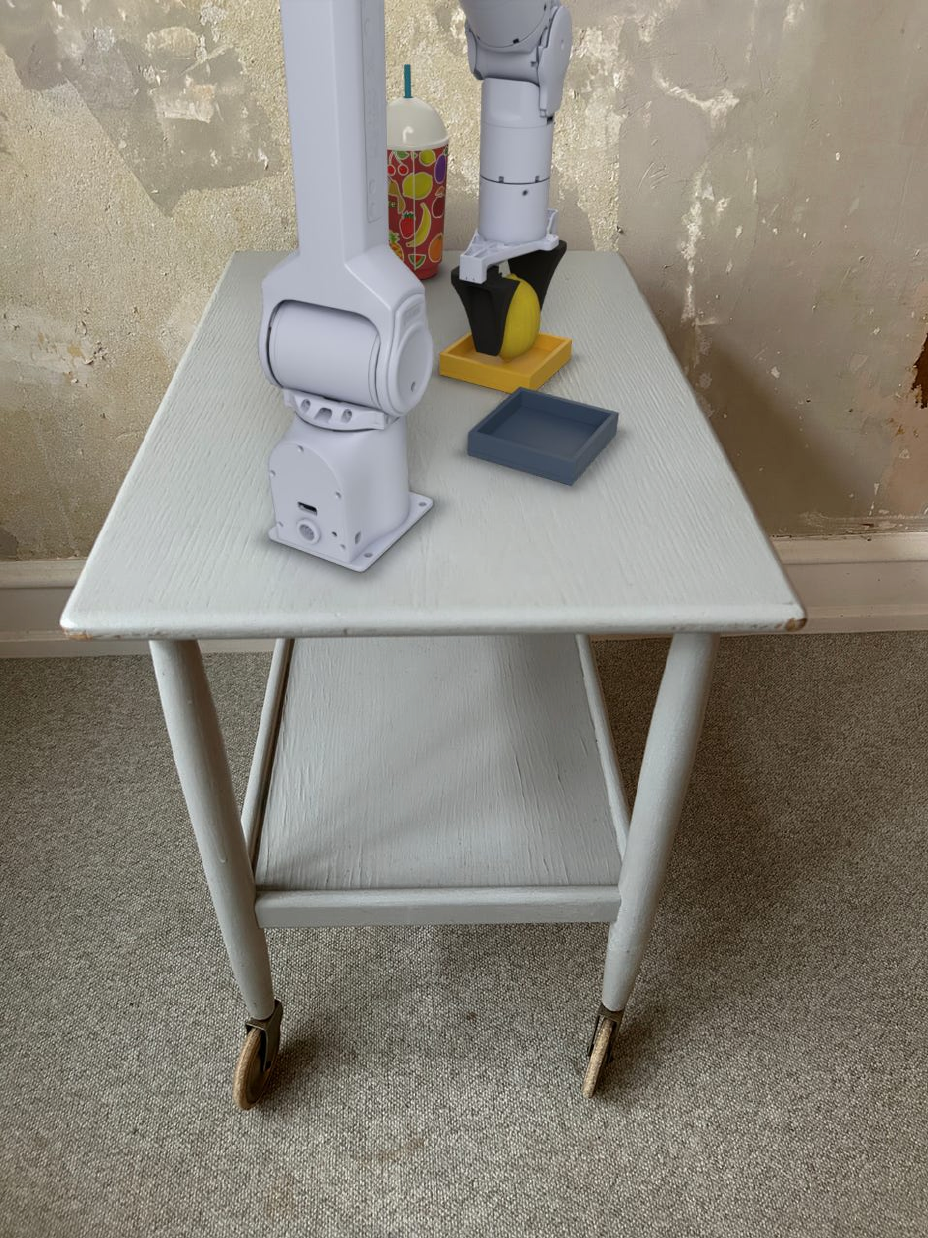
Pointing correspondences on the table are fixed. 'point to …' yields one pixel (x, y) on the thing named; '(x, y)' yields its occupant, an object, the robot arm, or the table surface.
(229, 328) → the table surface
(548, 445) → the slate tray
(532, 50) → the robot arm
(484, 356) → the ochre tray
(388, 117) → the smoothie
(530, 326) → the lemon
